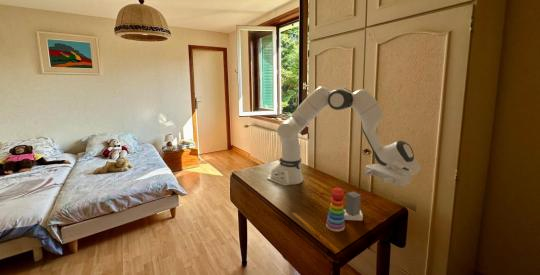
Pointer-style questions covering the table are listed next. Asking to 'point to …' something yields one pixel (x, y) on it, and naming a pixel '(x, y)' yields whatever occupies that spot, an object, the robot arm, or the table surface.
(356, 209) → the gray rectangular block
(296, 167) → the robot arm
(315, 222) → the table surface
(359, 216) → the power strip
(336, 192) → the stacking toy
